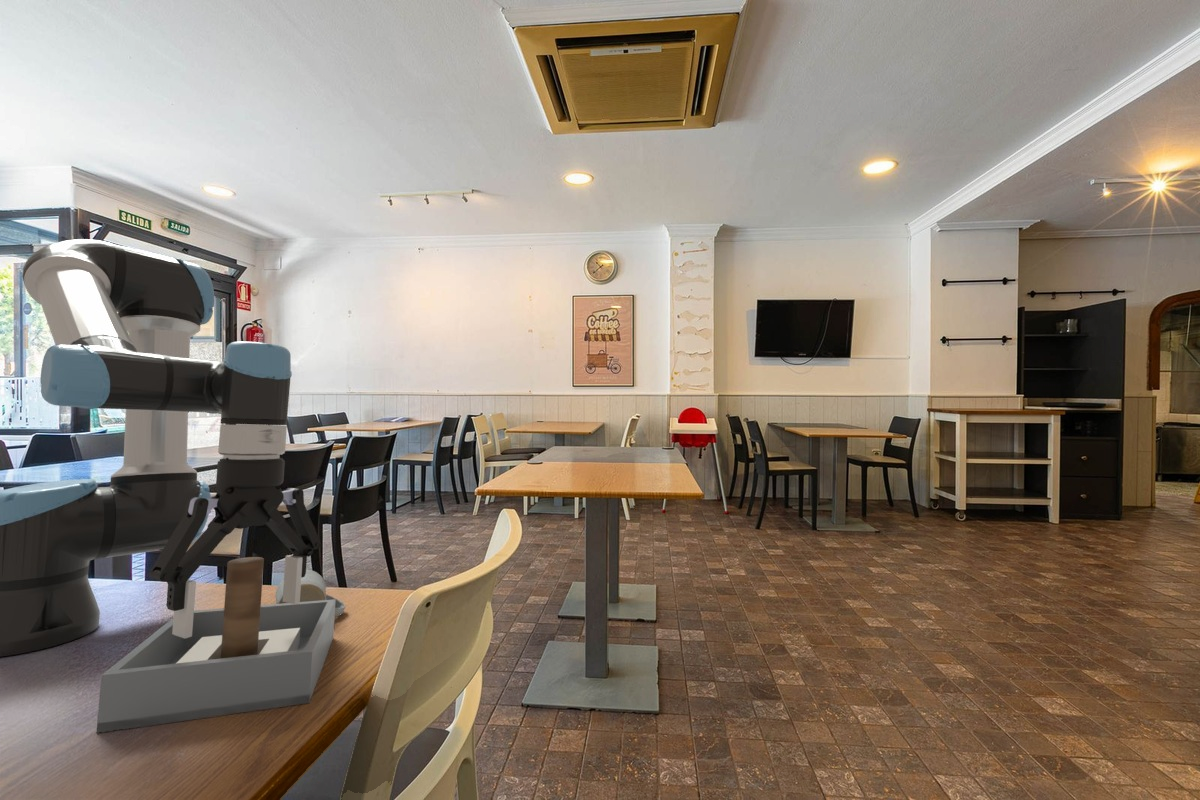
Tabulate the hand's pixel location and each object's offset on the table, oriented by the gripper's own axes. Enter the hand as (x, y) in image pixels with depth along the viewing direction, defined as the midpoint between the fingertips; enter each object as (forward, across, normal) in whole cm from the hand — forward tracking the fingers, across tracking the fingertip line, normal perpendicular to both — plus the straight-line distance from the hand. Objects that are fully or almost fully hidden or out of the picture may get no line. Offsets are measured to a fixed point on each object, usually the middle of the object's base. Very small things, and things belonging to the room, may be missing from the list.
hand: (241, 617), depth 67 cm
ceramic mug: (+8, +18, +11) cm, 23 cm away
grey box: (+8, 0, 0) cm, 8 cm away
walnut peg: (+7, 0, 0) cm, 7 cm away
